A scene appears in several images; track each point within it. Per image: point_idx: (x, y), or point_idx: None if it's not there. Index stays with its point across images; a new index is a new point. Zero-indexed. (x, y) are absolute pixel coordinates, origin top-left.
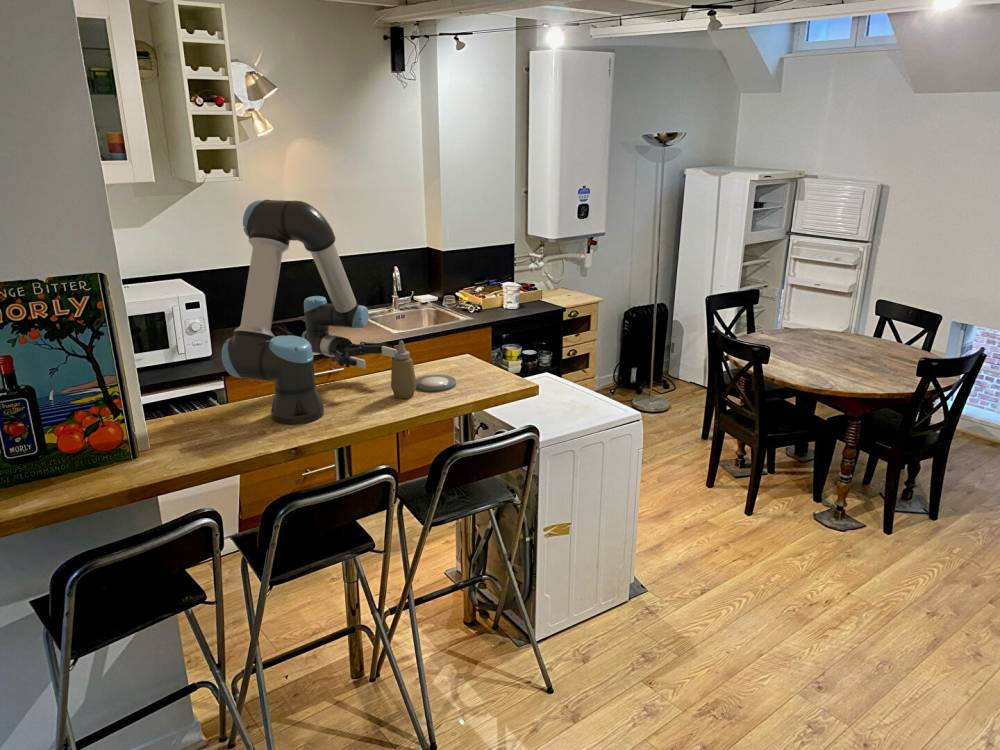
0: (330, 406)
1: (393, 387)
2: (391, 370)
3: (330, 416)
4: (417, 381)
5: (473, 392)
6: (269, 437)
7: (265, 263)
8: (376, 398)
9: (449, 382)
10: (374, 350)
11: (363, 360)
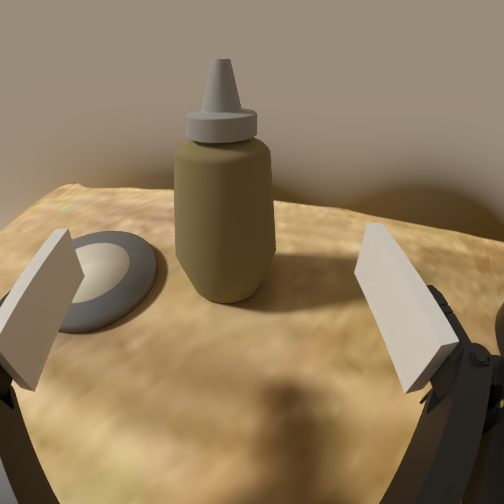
0: None
1: (275, 246)
2: (256, 209)
3: (481, 302)
4: (101, 305)
5: (117, 207)
6: None
7: None
8: (315, 325)
9: (84, 244)
10: (18, 444)
11: (381, 226)
